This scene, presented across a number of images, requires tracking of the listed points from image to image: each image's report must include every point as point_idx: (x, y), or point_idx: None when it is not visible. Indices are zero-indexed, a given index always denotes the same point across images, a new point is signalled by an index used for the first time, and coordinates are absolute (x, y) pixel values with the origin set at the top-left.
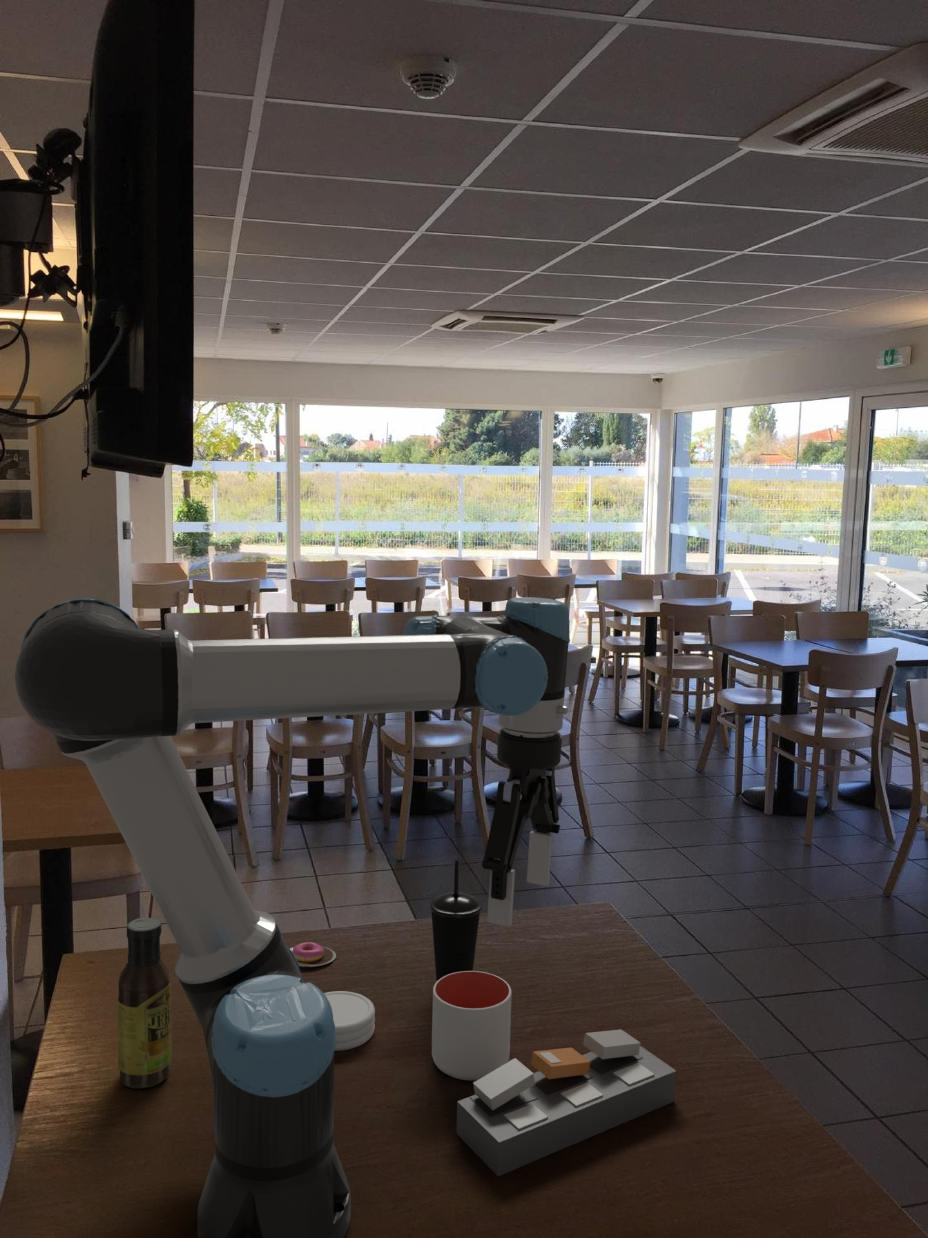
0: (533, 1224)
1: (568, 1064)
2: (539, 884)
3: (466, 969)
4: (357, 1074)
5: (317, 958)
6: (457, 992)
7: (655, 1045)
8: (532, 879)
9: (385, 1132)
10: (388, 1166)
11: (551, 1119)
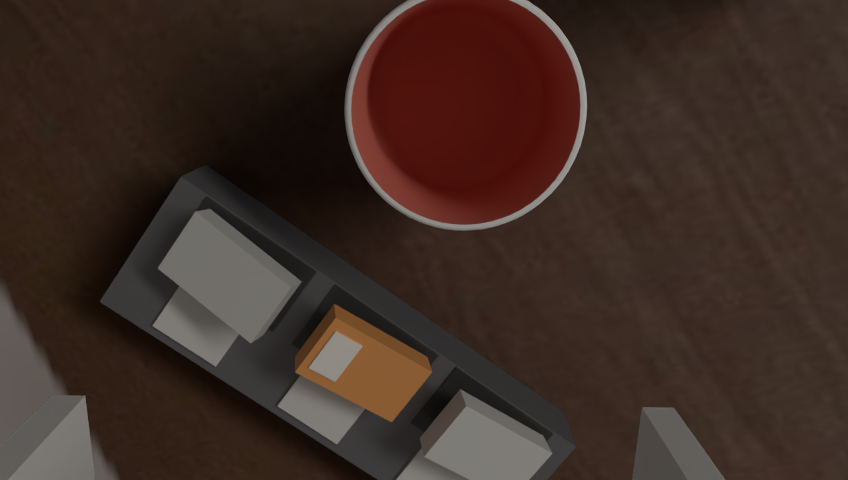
0: (56, 365)
1: (338, 394)
2: (634, 471)
3: None
4: None
5: None
6: (540, 32)
7: None
8: (645, 447)
9: (141, 23)
10: (53, 76)
11: (217, 372)
